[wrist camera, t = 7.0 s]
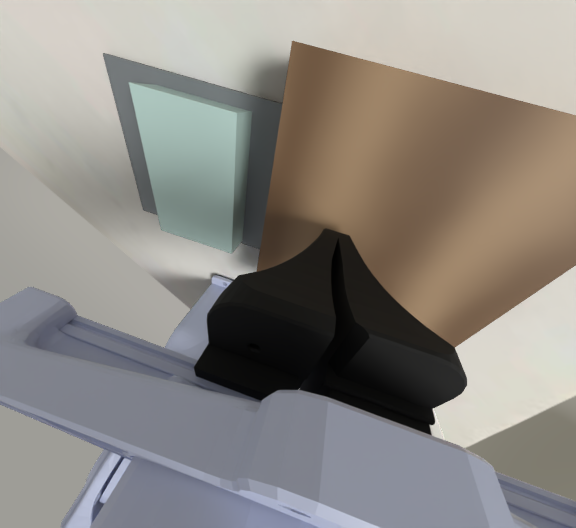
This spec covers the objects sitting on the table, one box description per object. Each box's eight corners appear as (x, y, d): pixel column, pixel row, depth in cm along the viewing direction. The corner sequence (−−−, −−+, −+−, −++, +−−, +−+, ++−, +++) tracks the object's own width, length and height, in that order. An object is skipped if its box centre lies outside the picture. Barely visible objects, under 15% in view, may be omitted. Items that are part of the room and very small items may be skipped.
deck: (268, 268, 19) (252, 299, 16) (311, 59, 10) (292, 40, 7) (419, 319, 18) (432, 362, 15) (609, 139, 9) (734, 157, 6)
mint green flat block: (231, 253, 16) (242, 240, 18) (236, 112, 10) (252, 111, 12) (161, 230, 16) (177, 219, 18) (128, 82, 11) (157, 84, 12)
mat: (146, 208, 19) (143, 210, 18) (107, 54, 12) (102, 52, 12) (270, 250, 18) (269, 252, 18) (297, 108, 12) (296, 108, 11)
